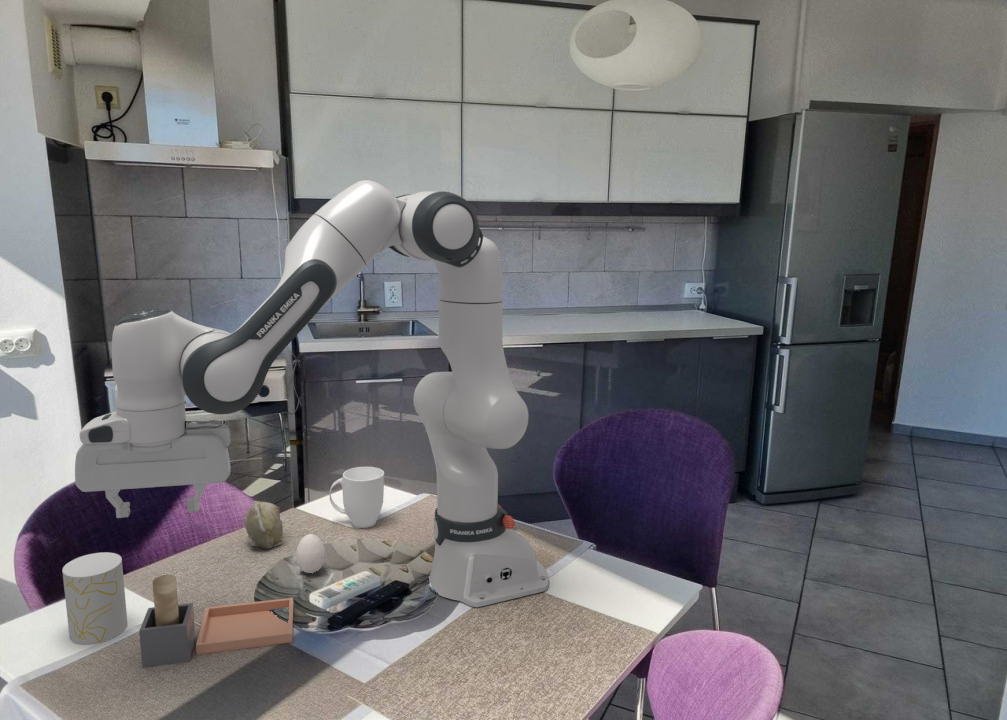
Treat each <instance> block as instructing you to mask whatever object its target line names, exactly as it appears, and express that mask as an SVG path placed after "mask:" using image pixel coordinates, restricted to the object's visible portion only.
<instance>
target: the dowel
mask: <svg viewBox="0 0 1007 720" xmlns="http://www.w3.org/2000/svg"><path fill="white" fill-rule="evenodd" d="M177 584H178V583H177V577H176V576H175V575H173V574H164V575H159V576H157V577H156V578H154V579H153V580H152V594H153V606H154V607H155V620H156V627H158V626H167V625H175V624H179V611H178V605H179V600H178V588H177V587H178V586H177Z"/></svg>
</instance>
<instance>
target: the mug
mask: <svg viewBox="0 0 1007 720" xmlns="http://www.w3.org/2000/svg"><path fill="white" fill-rule="evenodd" d="M338 484H340V486H341V489H342V504H343V508H342V507H340V506H338V505H337V504H336V503H335V502H334V500H333V499H332V498H333V497H332V495H331V492H332V489H333V488H334V487H335V486H337V485H338ZM384 490H385V471H384V470H383V469H381V468H379V467H376V466H356V467H352V468H349V469H347V470H345V471H344V472H343V474H342V477H340V478H338V479H337V480H335V481H334V482H333V483H332V484H331V486H330V490H329V502H330V504H331V506H332V507H333V508H334V509H335V510H336V511H337V512H339V513H340V514H343V515H346V516H347V517H348V519H349V520H350V522H351V525H352V526H354V527H355V528H358V529H367V528H368V529H369V528H371V527H374V526H375V525H376V523H377V521H378V519H379V517H380V514H381V511H382V508H383V504H384V496H385V492H384Z"/></svg>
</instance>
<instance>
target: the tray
mask: <svg viewBox="0 0 1007 720" xmlns="http://www.w3.org/2000/svg"><path fill="white" fill-rule="evenodd" d="M284 607H289V620H288V623H287V622H285V621H283V620H281V619H279V618H278V617H277V615H274V614H273V612H272V611H271V612H270V611H268V610H271V609H276V608H284ZM293 626H294V597H288V598H279V599H269V600H261V601H252V602H243V603H242V602H241V603H234V604H233V603H232V604H224V605H218V606H217V605H215V606H207V607H205V609H204V612H203V617H202V620H201V625H200V629H199V632H198V636H197V641H196V645H195V651H196V655H205V654H212V653H217V652H226V651H234V650H243V649H249V648H250V649H252V648H257V647H259V648H260V647H267V646H273V645H282V644H287V643H288V644H289V643H293V634H294V633H293V631H294V627H293Z"/></svg>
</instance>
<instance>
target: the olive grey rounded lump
mask: <svg viewBox="0 0 1007 720" xmlns="http://www.w3.org/2000/svg"><path fill="white" fill-rule="evenodd" d="M280 511H281V510H280V507H279V506H277V505H276V504H274V503H271V502H268V501H267V502H266V501H260V500H254V501H253V502H252V505H251V506H250V507H249V508H248V510H247V512H246V514H245V517H244V518H245V519H244V526H245V530H246V533H247V538H248V541H249V544H250V545H251V546H252V547H257V548H262V549H272V548H274V547H277V546H280V545H283V543H282V542H281V540H282V538H283V536H284V534H283V532H284V531H283V530H284V526H283V521H282V520H281V515H280V513H281V512H280Z"/></svg>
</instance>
